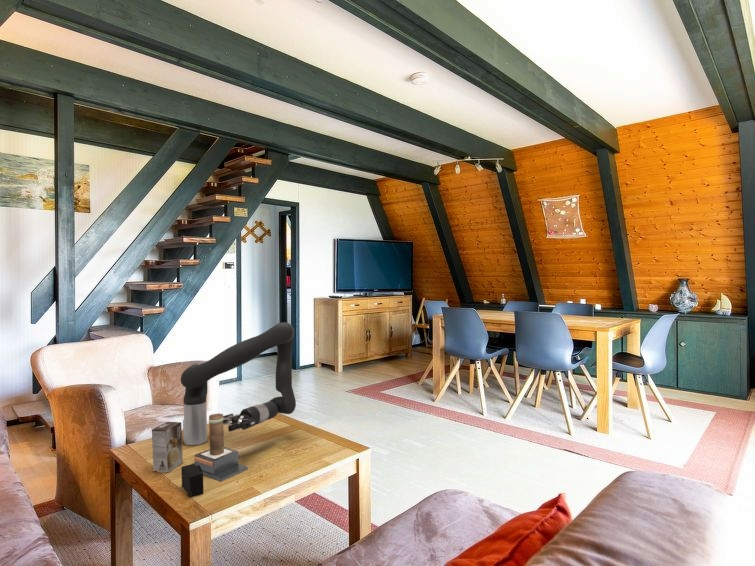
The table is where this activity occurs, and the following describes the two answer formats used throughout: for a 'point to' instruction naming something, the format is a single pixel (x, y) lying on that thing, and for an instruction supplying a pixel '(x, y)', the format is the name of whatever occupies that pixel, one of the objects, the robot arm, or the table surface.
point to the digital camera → (192, 480)
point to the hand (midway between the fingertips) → (221, 426)
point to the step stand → (219, 464)
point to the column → (216, 434)
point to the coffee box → (167, 446)
